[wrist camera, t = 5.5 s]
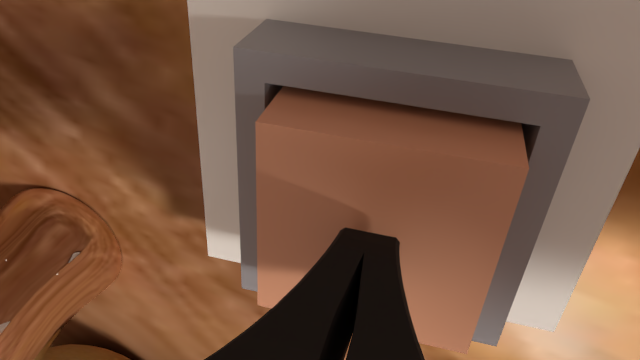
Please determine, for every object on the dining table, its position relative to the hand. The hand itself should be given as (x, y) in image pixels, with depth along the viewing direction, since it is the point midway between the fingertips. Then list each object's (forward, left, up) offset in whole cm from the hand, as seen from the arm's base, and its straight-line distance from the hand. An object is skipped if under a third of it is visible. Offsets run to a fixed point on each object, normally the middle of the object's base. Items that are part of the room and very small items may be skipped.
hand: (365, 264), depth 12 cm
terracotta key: (0, 0, -5) cm, 5 cm away
